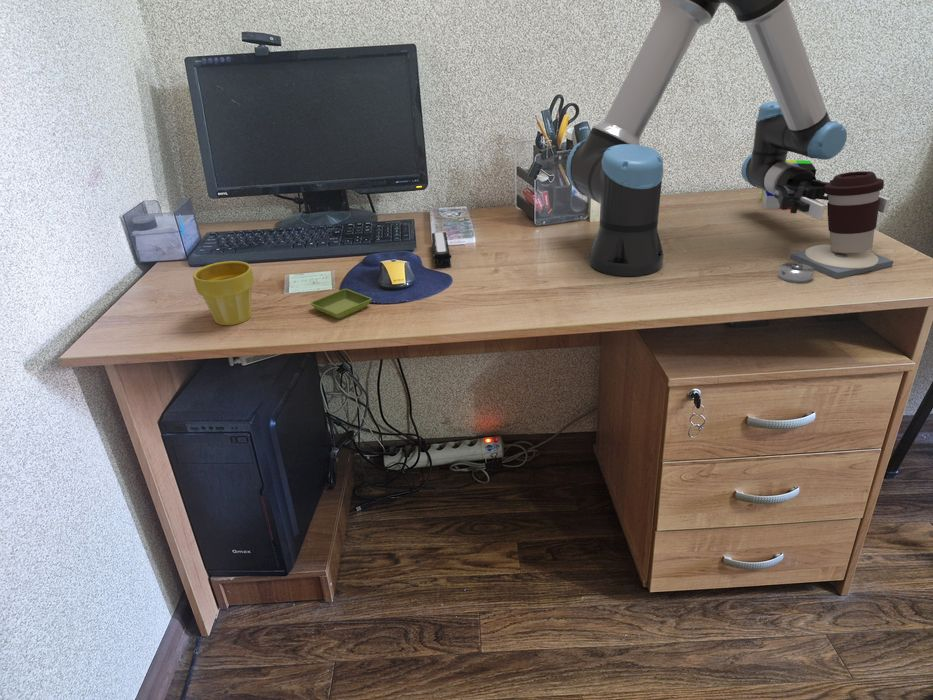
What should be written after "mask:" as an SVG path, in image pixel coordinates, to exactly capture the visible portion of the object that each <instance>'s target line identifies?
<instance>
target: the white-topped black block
mask: <svg viewBox="0 0 933 700" xmlns="http://www.w3.org/2000/svg"><path fill="white" fill-rule="evenodd" d="M431 239H432V240H431V241H432V245H431V247H432V252H433V255H432V259H433V261H434V269H435V270H439V269H440V270H441V269H451V268H452V264H451V259H452V254H450V253H451V251H450V248H449V242H448V237H447V232H444V231H442V232H441V231H440V232H433V233H431Z"/></svg>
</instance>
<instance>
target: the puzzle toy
mask: <svg viewBox="0 0 933 700" xmlns="http://www.w3.org/2000/svg"><path fill="white" fill-rule="evenodd" d="M786 162H789V163H792V164H795V165H798V166H800V167H802V168H805V169H808V170H810V171H812V172H813V173H814V175H815V176H816V174H817V169H816V167H815V166H814V164H813V163H812V162H811V160H802V159H801V160H800V159H799V160H792V159H791V160H790V159H789V160H788V159H786ZM760 196H761V197H760V198H761V201H762V204H763V207H764V209H767V210H769V209H771V210H782V209H781V208H780V204H779V201H778V199H777V198H775V197H774V195H773V194H771V193H769V192H767V191H765V190H762V189H761V195H760ZM787 210H791V207H788V208H787Z"/></svg>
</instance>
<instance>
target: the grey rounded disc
mask: <svg viewBox="0 0 933 700" xmlns="http://www.w3.org/2000/svg"><path fill="white" fill-rule="evenodd" d="M814 274H815V269H814V268H812V267H811V266H808V265H805V264H801V263H798V262H787V263H783V264H781V265H780V266H779V270H778V278H779V279H781V280H783V281H785V282H788V283H794V284H805V283H806V284H807V283H809V282H812V281H813V278H814Z"/></svg>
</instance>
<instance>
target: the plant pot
mask: <svg viewBox="0 0 933 700" xmlns="http://www.w3.org/2000/svg"><path fill="white" fill-rule="evenodd" d="M252 269H253V268H252V265H251V264H250V263H248V262H245V261H239V260H229V261H221V262H219V261H218V262H214V263H211V264H207V265H205V266H202V267H201V268H198V269H197V270H195V272H194V273H193V275H192V277H193V282H194V286H195V288H196V289H195V290H196V292H197V294H198V295H199V296H201V297H203V298H202V299H203V300H204V302H205V304H206V306H207V307H208V309H209V312H210V313H211V315H212V318H213V320H214V321H215V323H216V324H218V325H221V326H235V325H238V324H242V323H244V322H247V321H248V320H249V319H250V318H251V316H252V287H254V285H255V284H254V283H255V279H254V273H253V270H252Z"/></svg>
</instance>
